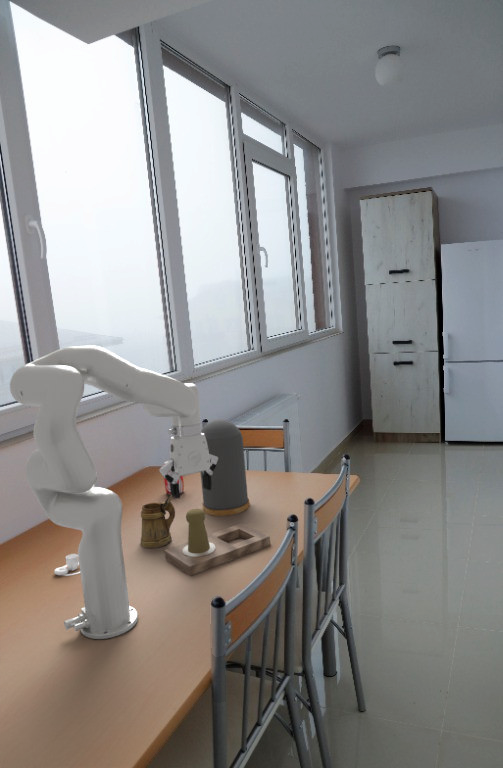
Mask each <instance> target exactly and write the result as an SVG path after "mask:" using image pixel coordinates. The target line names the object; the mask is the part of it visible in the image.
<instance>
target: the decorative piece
mask: <svg viewBox="0 0 503 768" xmlns="http://www.w3.org/2000/svg"><path fill="white" fill-rule="evenodd" d="M201 433H204V434H205V437H206V441H207V445H208V450H209V454H211V455H214V456H217V457H218V461H217V464H216V467H215V469H214V471H213V474H212V475H211V482H212V485H211V490H207V489H205V488H203V478H202V475H203V474H204V472H203V471H202V472H200V481H201V490H202V491H201V493H202V499H203V500H202V501H203V503H202V510H203V511H204V512H205V515H210V516H214V517H215V516H216V517H220V516H221V517H222V516H223V517H224V516H225V517H226V516H232V515H238V514H240V513H243V512H245V511H247V510H248V509H249V508H250V499H249V497H248V485H247V474H246V473H247V472H246V463H245V450H244V439H243V434H242V432H241V430H240V429H239V427H238V426H236V424H234V423H233V422H231V421H229V420H225V419H215V420H212V421H210V422H208V423H206V424H205V425H204V426H203V427H201ZM210 463H211V459H210Z"/></svg>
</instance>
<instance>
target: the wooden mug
mask: <svg viewBox="0 0 503 768" xmlns="http://www.w3.org/2000/svg"><path fill="white" fill-rule="evenodd" d="M178 484H179V483H178ZM172 498H174V497H173V496H172V495H171V493H170V495H169V494H168V496H167V499H166V500H165V501H164V502H149V503H145V504H144V505H142V507H141V512H140V518H141V534H140V535H141V536H140V546H141V547H143V548H146V549H156V548H160V547H163V546H165V545H168V544H169V543H170V542H171V540H172V538H173V537H172V533H171V531H170V529H171V526H172V524H173V522H174V519H175V517H176V509H175V507H174V505H173V503H172V502H171V501H172ZM167 512H168V513H169V516H168V518H166V514H167Z"/></svg>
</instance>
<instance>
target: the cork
mask: <svg viewBox="0 0 503 768" xmlns="http://www.w3.org/2000/svg"><path fill="white" fill-rule="evenodd" d="M185 519H186V522H187V523H188V532H187V535H188V538H187V539H188V540H187V542H188V551H189V552H190V553H196V554H197V553H203V552H206V551H208V550H209V549H210V545H209V541H208V537H207V535H208V532H207V528H206V524H205V520H206V513H205V512H204V511H203V508H202V509H201V508H192V509H190V510H188V511H187V512H186V515H185Z"/></svg>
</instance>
